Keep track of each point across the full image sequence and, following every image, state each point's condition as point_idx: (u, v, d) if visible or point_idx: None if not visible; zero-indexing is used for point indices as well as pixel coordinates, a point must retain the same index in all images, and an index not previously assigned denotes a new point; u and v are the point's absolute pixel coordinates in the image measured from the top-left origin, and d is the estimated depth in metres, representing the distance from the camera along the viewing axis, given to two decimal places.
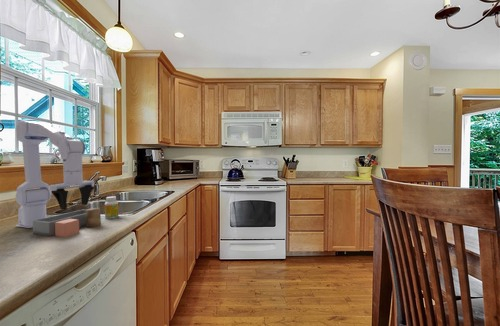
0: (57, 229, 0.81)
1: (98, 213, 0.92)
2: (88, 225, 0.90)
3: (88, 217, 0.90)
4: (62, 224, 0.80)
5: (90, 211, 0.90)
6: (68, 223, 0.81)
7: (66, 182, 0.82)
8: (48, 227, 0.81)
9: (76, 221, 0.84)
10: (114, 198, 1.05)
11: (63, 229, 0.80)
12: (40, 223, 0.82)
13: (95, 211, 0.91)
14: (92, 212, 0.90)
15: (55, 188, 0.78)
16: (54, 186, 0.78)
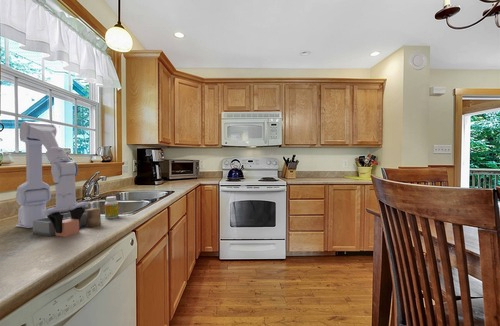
0: None
1: (98, 213, 0.92)
2: (88, 225, 0.90)
3: (88, 217, 0.90)
4: (62, 224, 0.80)
5: (90, 211, 0.90)
6: (68, 223, 0.81)
7: (58, 206, 0.80)
8: (48, 227, 0.81)
9: (76, 221, 0.84)
10: (114, 198, 1.05)
11: (63, 229, 0.80)
12: (40, 223, 0.82)
13: (95, 211, 0.91)
14: (92, 212, 0.90)
15: (47, 213, 0.76)
16: (46, 211, 0.76)
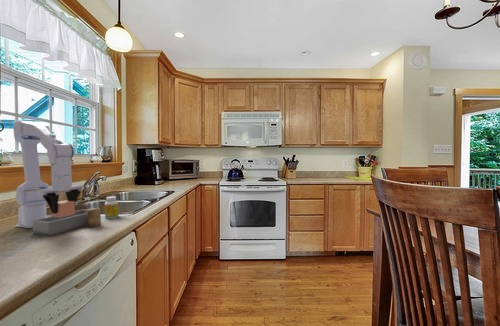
0: None
1: (98, 213, 0.92)
2: (88, 225, 0.90)
3: (88, 217, 0.90)
4: (58, 204, 0.81)
5: (90, 211, 0.90)
6: (64, 204, 0.82)
7: (54, 187, 0.81)
8: (48, 227, 0.81)
9: (72, 202, 0.85)
10: (114, 198, 1.05)
11: (59, 209, 0.81)
12: (40, 223, 0.82)
13: (95, 211, 0.91)
14: (92, 212, 0.90)
15: (42, 193, 0.77)
16: (41, 191, 0.77)
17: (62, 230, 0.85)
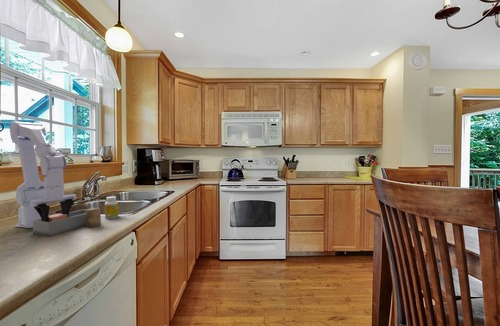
0: None
1: (98, 213, 0.92)
2: (88, 225, 0.90)
3: (88, 217, 0.90)
4: (51, 218, 0.84)
5: (90, 211, 0.90)
6: (56, 217, 0.85)
7: (47, 197, 0.84)
8: (48, 227, 0.81)
9: (64, 216, 0.88)
10: (114, 198, 1.05)
11: None
12: (40, 223, 0.82)
13: (95, 211, 0.91)
14: (92, 212, 0.90)
15: (35, 204, 0.80)
16: (34, 202, 0.80)
17: (62, 230, 0.85)
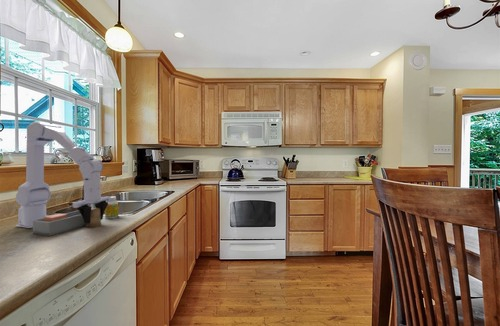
0: None
1: (98, 213, 0.92)
2: (88, 225, 0.90)
3: None
4: (51, 218, 0.84)
5: None
6: (56, 217, 0.85)
7: (86, 199, 0.90)
8: (48, 227, 0.81)
9: (64, 216, 0.88)
10: (114, 198, 1.05)
11: None
12: (40, 223, 0.82)
13: (95, 211, 0.91)
14: (92, 212, 0.90)
15: (77, 205, 0.86)
16: (76, 204, 0.85)
17: (62, 230, 0.85)
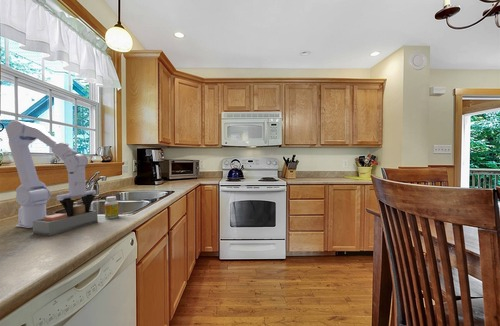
0: None
1: (83, 209, 0.95)
2: None
3: (73, 213, 0.93)
4: (51, 218, 0.84)
5: (74, 207, 0.93)
6: (56, 217, 0.85)
7: (71, 192, 0.92)
8: (48, 227, 0.81)
9: (64, 216, 0.88)
10: (114, 198, 1.05)
11: None
12: (40, 223, 0.82)
13: (80, 207, 0.93)
14: (76, 208, 0.93)
15: (61, 198, 0.88)
16: (60, 196, 0.88)
17: (62, 230, 0.85)
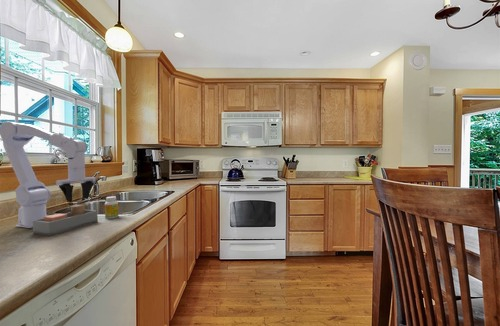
0: None
1: (83, 209, 0.95)
2: None
3: (73, 213, 0.93)
4: (51, 218, 0.84)
5: (74, 207, 0.93)
6: (56, 217, 0.85)
7: (70, 178, 0.92)
8: (48, 227, 0.81)
9: (64, 216, 0.88)
10: (114, 198, 1.05)
11: None
12: (40, 223, 0.82)
13: (79, 207, 0.93)
14: (76, 208, 0.93)
15: (61, 183, 0.88)
16: (60, 181, 0.88)
17: (62, 230, 0.85)
